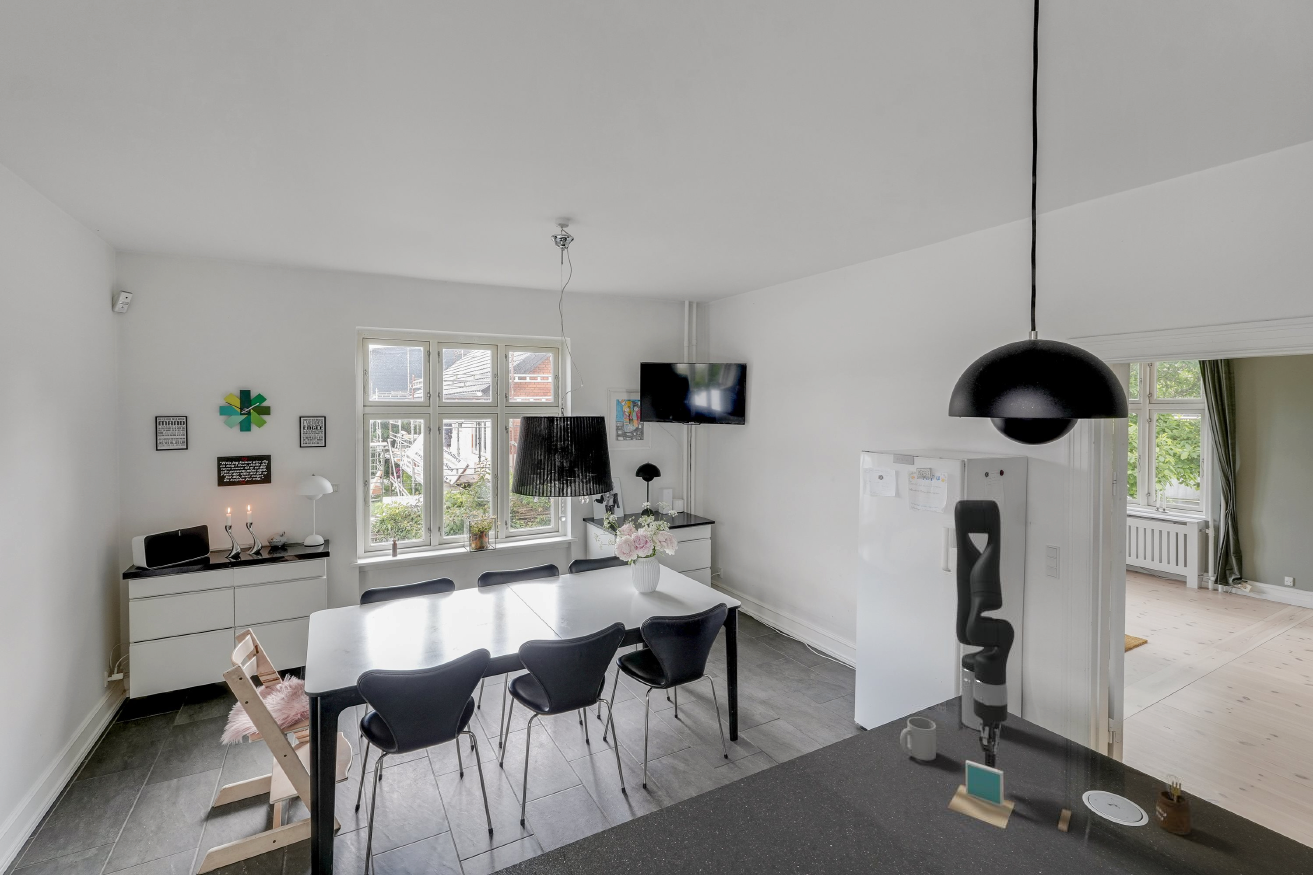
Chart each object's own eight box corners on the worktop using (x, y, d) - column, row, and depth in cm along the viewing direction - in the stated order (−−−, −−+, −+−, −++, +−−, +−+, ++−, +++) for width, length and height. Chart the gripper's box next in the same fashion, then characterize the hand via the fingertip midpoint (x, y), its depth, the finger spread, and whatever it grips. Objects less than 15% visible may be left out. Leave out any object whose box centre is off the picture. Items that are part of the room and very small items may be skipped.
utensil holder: (1187, 823, 137) (1187, 771, 137) (1194, 840, 132) (1194, 786, 132) (1153, 815, 140) (1153, 764, 140) (1159, 831, 135) (1159, 778, 135)
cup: (941, 760, 164) (941, 728, 164) (908, 764, 163) (908, 731, 163) (925, 746, 172) (925, 715, 171) (893, 750, 170) (893, 719, 170)
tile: (966, 791, 149) (966, 759, 149) (1003, 804, 144) (1003, 771, 144) (965, 794, 148) (965, 762, 148) (1002, 807, 143) (1002, 773, 143)
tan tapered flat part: (1055, 811, 142) (1055, 806, 142) (1078, 818, 140) (1078, 813, 140) (1047, 840, 132) (1047, 834, 132) (1071, 849, 130) (1071, 843, 130)
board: (960, 786, 153) (960, 784, 153) (1015, 804, 145) (1015, 802, 145) (947, 809, 143) (947, 807, 143) (1004, 830, 136) (1004, 828, 136)
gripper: (979, 684, 159) (980, 749, 159) (967, 702, 149) (967, 771, 149) (1012, 692, 154) (1012, 759, 154) (1001, 711, 144) (1001, 783, 144)
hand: (990, 765), depth 152 cm, fingers closed
